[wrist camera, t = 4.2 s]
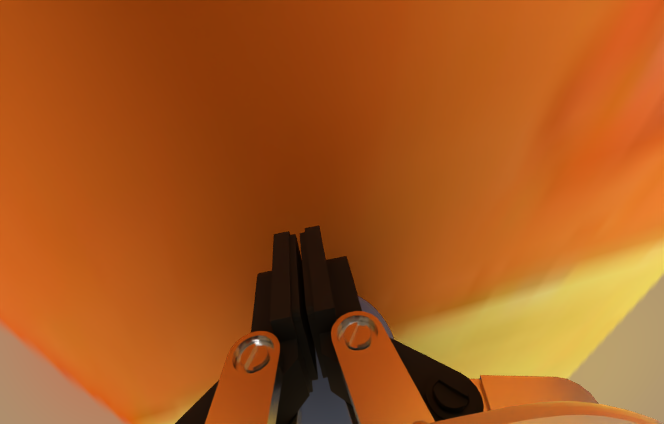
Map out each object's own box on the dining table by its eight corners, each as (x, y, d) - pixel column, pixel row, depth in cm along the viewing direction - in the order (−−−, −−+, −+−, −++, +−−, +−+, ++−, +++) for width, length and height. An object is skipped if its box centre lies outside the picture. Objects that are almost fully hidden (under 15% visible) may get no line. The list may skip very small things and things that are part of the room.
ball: (239, 474, 9) (283, 455, 14) (433, 424, 9) (410, 423, 14) (234, 285, 13) (271, 324, 17) (377, 252, 13) (373, 299, 18)
